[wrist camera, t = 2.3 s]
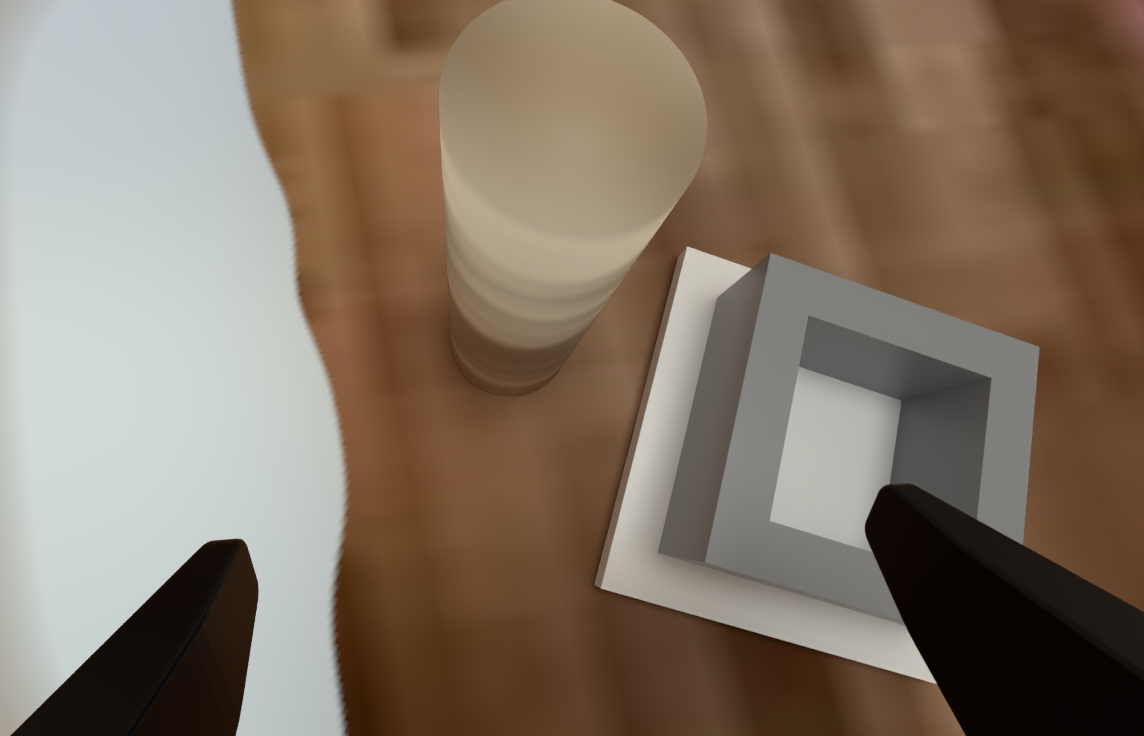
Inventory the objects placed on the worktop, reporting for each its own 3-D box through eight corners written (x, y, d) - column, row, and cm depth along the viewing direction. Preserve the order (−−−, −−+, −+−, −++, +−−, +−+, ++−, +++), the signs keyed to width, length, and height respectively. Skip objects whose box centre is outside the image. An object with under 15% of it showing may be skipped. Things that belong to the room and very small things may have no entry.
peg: (548, 411, 21) (673, 270, 9) (434, 375, 21) (399, 176, 9) (580, 304, 22) (731, 46, 10) (471, 268, 22) (488, -47, 10)
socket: (925, 678, 22) (1058, 726, 17) (593, 584, 20) (635, 607, 16) (963, 355, 25) (1085, 318, 20) (678, 257, 24) (734, 192, 19)
